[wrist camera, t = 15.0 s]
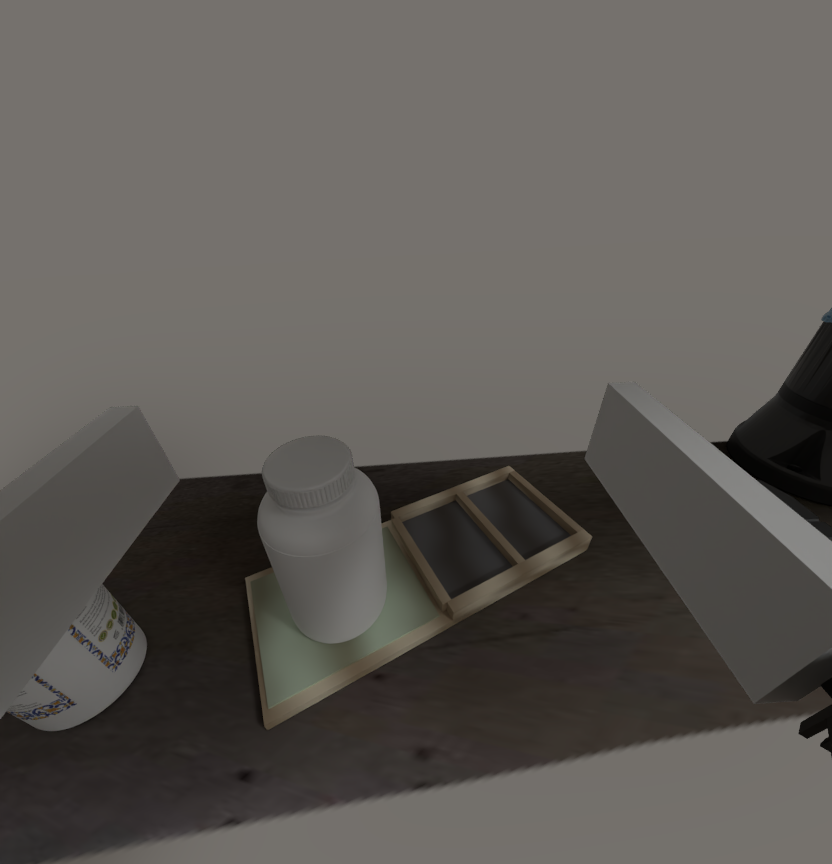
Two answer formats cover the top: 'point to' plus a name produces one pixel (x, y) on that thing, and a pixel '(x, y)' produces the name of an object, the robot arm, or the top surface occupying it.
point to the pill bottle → (323, 538)
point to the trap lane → (416, 585)
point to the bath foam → (84, 667)
